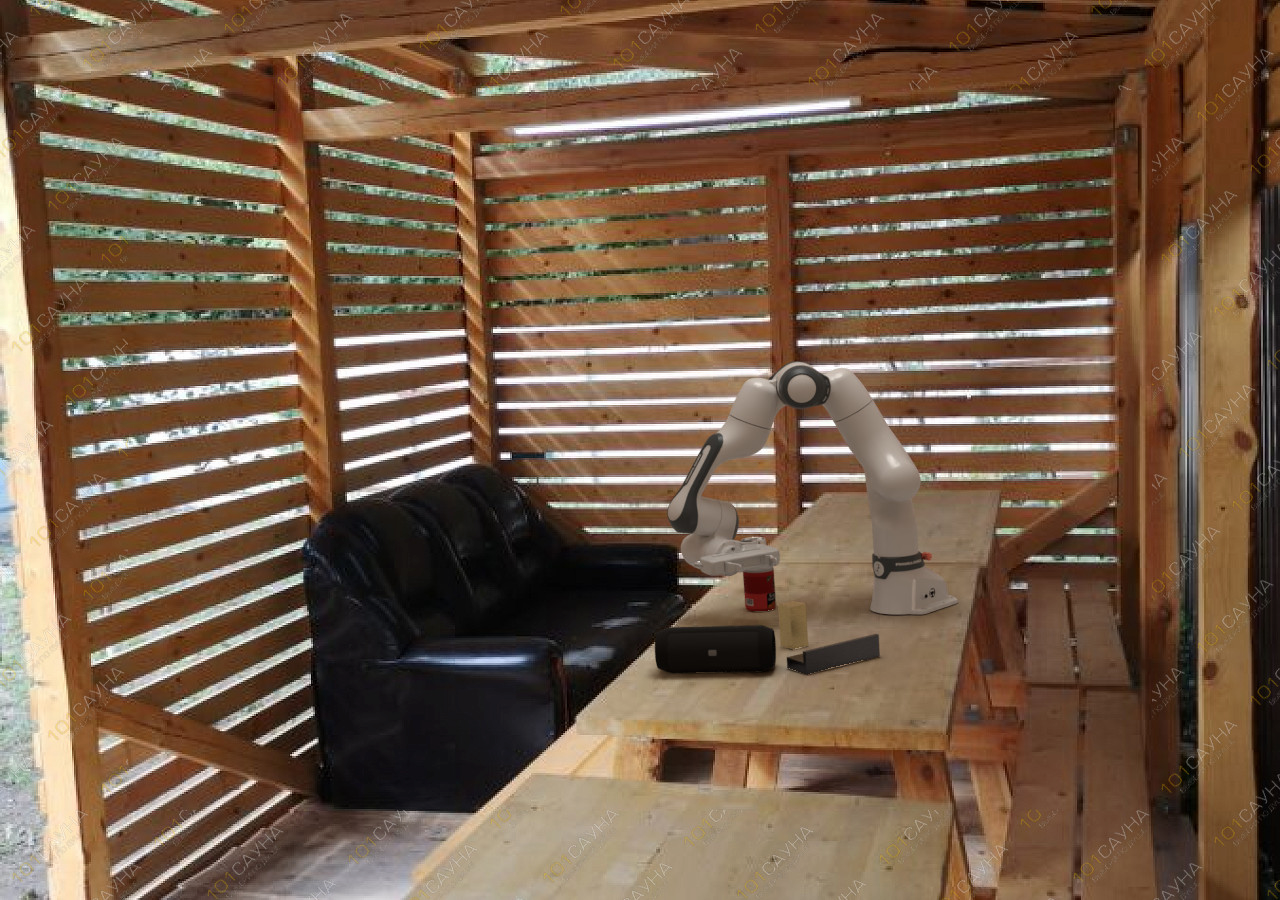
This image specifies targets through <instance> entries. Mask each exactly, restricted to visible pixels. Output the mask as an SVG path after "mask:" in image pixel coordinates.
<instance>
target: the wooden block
mask: <svg viewBox="0 0 1280 900" xmlns="http://www.w3.org/2000/svg"><path fill="white" fill-rule="evenodd" d="M777 610H778V623H779V624H778V625H779V636H780V637H779V639H780V647H781V646H783V647H787V648H791V649H795V648H799V647H804V646H808V647H809V636H808V635H809V634H808V621H807V620H808V619H807V618H808V617H807V603H804V602H800V601H796V600H791V601H787V602H783V603H778V604H777ZM783 647H782V648H783ZM787 648H786V649H787Z"/></svg>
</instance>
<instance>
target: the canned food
mask: <svg viewBox="0 0 1280 900" xmlns="http://www.w3.org/2000/svg"><path fill="white" fill-rule="evenodd" d="M742 578H743V594H744V606H745V609H747V610H746V611H748V612H750V611H768V610H772V609H774V608H775V609H776V606H777V603H776V602H777V601H776V586H775V584H776V583H775V569H774V566H765V567H759V568H754V569H748V570H745V571H744V572H742ZM775 609H774V610H775ZM772 611H773V610H772ZM768 612H769V611H768Z"/></svg>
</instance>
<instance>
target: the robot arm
mask: <svg viewBox="0 0 1280 900" xmlns="http://www.w3.org/2000/svg"><path fill="white" fill-rule="evenodd" d="M786 406H788V407H790V408H792V409H797V410H805V409H809V408H813V407H816V406H823V407H824V409H825V410H826V411H827V413H828V415H829V417H830V419H831V421H832V423H833V424H835V427H836V429H837V430H838V432H839V434H840V435H841V437H842V439H843V440H844V442H845V443H846V446H848V449H849V450H850V451H851V453H852V454H853V455H854V457H855V459H856V460H857V461H858V463H859V464H860V466H861V467H862V469H863V470H864V479H865V486H866V494H867V501H868V507H869V508H868V509H869V513H870V519H871V531H872V532H871V533H872V545H873V546H872V548H873V553H872V555H871V558H872V560H871V562H872V563H871V564H872V565H871V566H872V567H871V568H872V570H873V574H874V575H873V585H872V586H873V589H872V597H871V602H870V607H869V610H870V611H872V612H873V613H878V614H881V615H882V614H885V615H926V614H929V613H931V612H935V611H938V610H941V609H944V608H947V607H950V606H954V605H956V604H958V603H959V599H958V598H957V597H955V596H953V595H951V594H949V593H948V592H949V591H948V587H947V586H948V585H947V583H946V580H945V579H944V578H943V577H942V576H941V575H939V574H938V573H936V571H935V572H934V570H932V569H930V568H929V567H927V566H926V563H925V561H924V560H926V561H932V558H933V554H932V553H931V552H927V551H924V552H921V551H919V539H918V534H919V533H918V521H917V517H916V514H915V507H914V504H913V498H914V497H915V496H916V495H917V494H918V492H919V490H920V488H921V482H922V481H921V479H922V478H921V474H920V472H919V470H918V468H917V466H916V465H915V463H914V461H913V460H912V459H911V457H910V455H909V454H908V453H907V451H906V449H905V448H904V446H903V444H902V443H901V442H900V440H899V439H898V438H897V436H896V435H895V434H894V432H893V431H892V429H891V428H890V427H889V424H888V423H887V421H886V420H885V417H884V416H883V415H882V413H881V411H880V409H879V407H878V406H877V404H876V403H875V401H874V400H873V398H872V396H871V394H870V393H869V391H868V390H867V389H866V386H864V384H863V383H862V381H860V379H859V378H858V376H857V375H855V373H854V372H853V370H851V369H848V368H847V367H846V368H845V367H840V368H835V369H833V370H830V371H829V372H826V373H821V372H819V370H817V369H816V368H815V367H813V366H812V365H811V364H809V363H806V362H804V361H803V362H802V361H790V362H788V363H786V364H784V365H783V366H782V367H780V368H779V369H778V370H777V371H776V372H775V373H773V374H772V375H771V376H769V378H768V379H767V378H763V377H752V378H749V379H747V380H746V381H745V382H744V383H743V385H742V386H741V388H740V390H739V391H738V393H737V396H736V397H735V399H734V402H733V403H732V406H731V408H730V411H729V413H728V416H727V419H726V421H725V422H724V424H723V425H722V426H721V428H720V429H718V431H717V432H716V433H713V434H711V435H709V436H708V438H707V439H706V440H705V442H704V444H703V445H702V447H701V448H700V451H699V453H698V454H697V456H696V457H695V460H694V462H693V463H692V465H691V467H690V469H689V471H688V473H687V475H686V477H685V478H684V481H683V482H682V484H681V486H680V488H679V489H678V490H677V492H676V493H675V494H674V496H673V497H672V499H671V500H670V502H669V503H668V507H667V510H666V515H667V520H668V522H669V524H670V526H671V528H672V529H673V530H674V531H675V532H676V533H679V534H688V535H687V536H685V537H684V538H683V539H682V541H681V544H680V553H681V556H682V558H683V559H684V560H685V562H686V563H687V564H688V565H690V566H692V567H693V568H696V569H699V570H700V571H701V572H702V573H704V574H706V575H709V576H711V577H712V576H724V577H733V576H734V575H737V574H738V573H743V572H744V571H745V570H748V569H754V568H759V567H765V566H773V567H776V566H778V565H779V564H780V561H781V560H780V559H781V556H780V550H779V548H777V547H774V546H771V545H769V544H766V545H764V544H757V541H754V540H743V541H741V540H737V539H736V536H737V534H738V531H739V524H740V523H739V522H740V519H739V514H738V510H737V509H736V507H735V505H734V504H733V503H731V502H728V501H724V500H720V499H717V498H711V497H706V496H703V495H702V494H703V493H704V491H705V489H706V487H707V485H708V483H709V482H710V479H711V478H712V476H713V474H714V472H715V471H716V469H717V468H718V467H719V466H721V465H722V464H723V463H725V462H728V461H731V460H736V459H744V458H748V457H751V456H753V455H755V454H757V453H759V452H760V451H761V450H762V449H763V448H764V447H765V445H766V443H767V441H768V438H769V436H770V434H771V431H772V428H773V426H774V422H775V419H776V416H777V414H779V411H780V410H782V409H783V408H784V407H786ZM735 539H736V540H735Z"/></svg>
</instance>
